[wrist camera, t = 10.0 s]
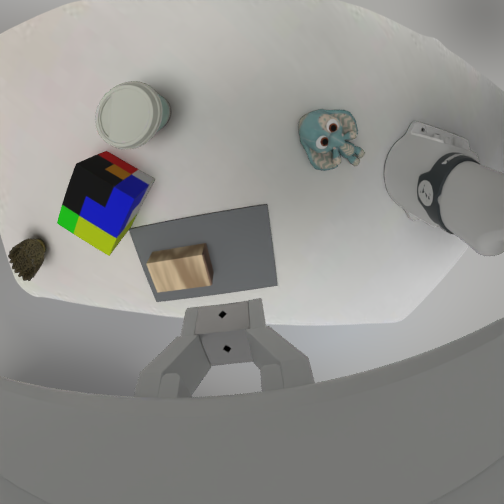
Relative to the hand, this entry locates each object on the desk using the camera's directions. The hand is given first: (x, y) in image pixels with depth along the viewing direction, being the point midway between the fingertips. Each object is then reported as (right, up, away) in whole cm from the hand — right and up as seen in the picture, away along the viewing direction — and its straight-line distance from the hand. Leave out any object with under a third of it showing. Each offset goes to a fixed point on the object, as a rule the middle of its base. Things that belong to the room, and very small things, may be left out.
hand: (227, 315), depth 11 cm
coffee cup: (-14, +24, +25) cm, 37 cm away
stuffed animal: (+13, +20, +29) cm, 38 cm away
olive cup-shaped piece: (-43, +4, +35) cm, 55 cm away
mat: (-7, +2, +38) cm, 38 cm away
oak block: (-6, 0, +36) cm, 36 cm away
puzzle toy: (-21, +13, +31) cm, 40 cm away
